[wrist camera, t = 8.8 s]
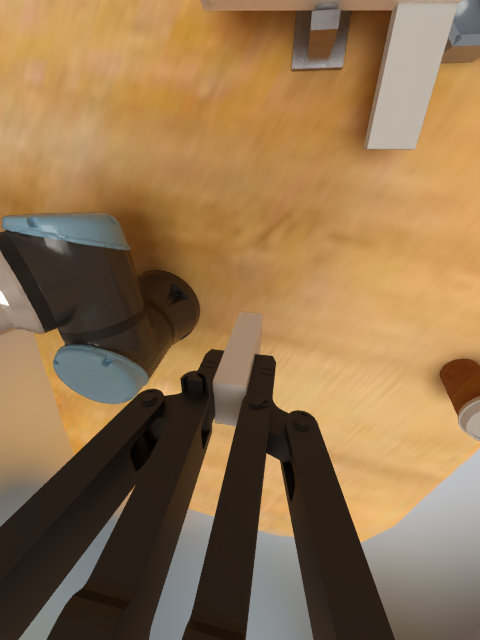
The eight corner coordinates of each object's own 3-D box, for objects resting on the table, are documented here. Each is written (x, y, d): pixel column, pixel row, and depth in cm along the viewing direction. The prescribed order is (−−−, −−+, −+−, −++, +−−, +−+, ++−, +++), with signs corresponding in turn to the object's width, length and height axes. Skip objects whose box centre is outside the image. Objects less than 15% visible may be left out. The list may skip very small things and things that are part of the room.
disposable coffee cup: (458, 343, 47) (501, 392, 37) (503, 365, 48) (558, 420, 38) (418, 377, 53) (447, 429, 42) (460, 397, 53) (498, 453, 43)
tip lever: (209, 147, 30) (204, 145, 27) (199, -120, 21) (190, -169, 18) (407, 149, 29) (425, 148, 26) (484, -124, 20) (526, -175, 17)
